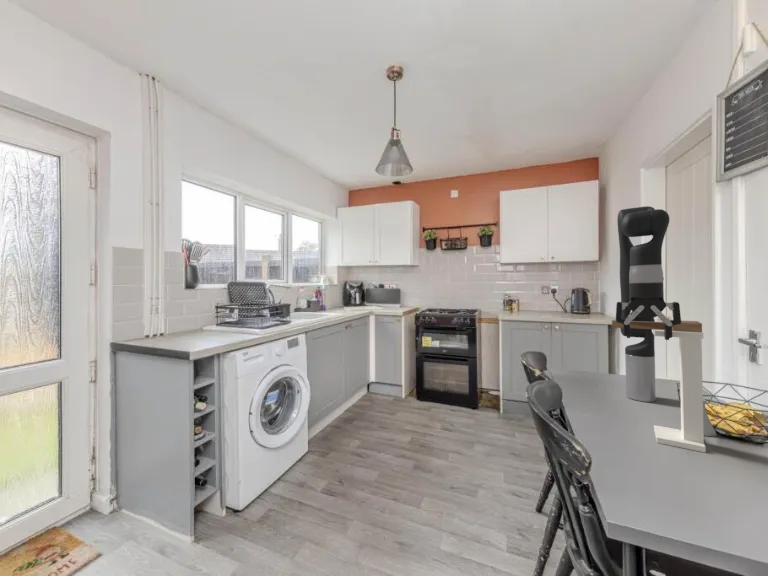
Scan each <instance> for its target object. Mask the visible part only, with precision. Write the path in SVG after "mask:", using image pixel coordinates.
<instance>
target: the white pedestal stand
mask: <svg viewBox="0 0 768 576" xmlns="http://www.w3.org/2000/svg"><path fill="white" fill-rule="evenodd" d="M652 332H653V334H654V337H664V338H665V336H664V330H658V329H652ZM672 338H678V339H679V340H678V341H679V342H678V343H679V344H678V345H679V389H680V392H679V393H680V429H678V428H672V427H666V426H663V425H662V426H661V425H655V424H653V431H654V435H655V440H656V443H657V444H662V445H666V446H672V447H676V448H681V449H686V450H691V451H696V452H701V453H704V454H705V453H706V452H707V451H706V450H707V449H706V445H705V442H704V438H705V437H704V436H705V435H704V433H703V399H704V397H703V389H704V387H703V351H702V350H703V348H702V342H703V341H702V339H704V333H703V331H702V332H682V331H672Z"/></svg>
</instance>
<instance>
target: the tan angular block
mask: <svg viewBox="0 0 768 576" xmlns="http://www.w3.org/2000/svg"><path fill="white" fill-rule="evenodd" d="M668 320H669V321H671V320H672V319H668ZM629 325H630V328H636V329H658V330H664V326H665V323H664V322H663V321H655V322H646V321H631V322H630V323H629ZM611 327H612V328H613V329H614V328H617V329H620V328H624V325H623V324H622V323H618V322H617V321H616V319H615V320H611ZM672 331H682V332H702V333H703V324H702V322H700V321H698V320H681V324H677V325H673V326H672Z"/></svg>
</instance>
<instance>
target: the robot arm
mask: <svg viewBox="0 0 768 576" xmlns="http://www.w3.org/2000/svg"><path fill="white" fill-rule="evenodd" d="M669 224H670V215H669V214H668V212H667V211H666V210H664V209H658V208H657V209H656V208H654V207H653V206H647V205H646V206H639V207H631V208H623V209H621V210H619V211H618V213H617V234H618V244H619V286H620V287H619V288H620V301H617V302H616V304H615V305H616V306H615V309H616V310H615V320H616V321H617V322H618V323H622V324H623V325H624V328H619V329H620V333H621V334H622V336H623V337H625V338H627V339H631V338H641V339H642V341H640V342H638V343H635V344H631V345H630V344H629V345H627V346H625V348H624V355H625V356H624V357H625V358H624V359H625V363H624V364H625V396H626V397H627V398H628V399H631V400H635V401H639V402H651V403H652V402H656V401H657V400H656V399H657V395H656V394H657V392H656V389H657V387H656V356H655V355H656V352H655V351H656V350H655V336H654V334H653V332H652V329H636V328H630V325H629V323H630V322H631V321H646V322H656V321H655V318H656V317H658V319H660V321H661V322H664V323H665V326H664V336H665V337H664V340H665V341H669V340H670V339H672V338H673V337H672V326H673V325H677V324H681V321H682V316H681V308H680V303H679V302H677V301H673V302H665V300H664V299H665V298H664V293H665V292H664V279H665V278H664V271H663V266H662V252H663V251H662V247H663V244H664V243H663V242H664V239H665V236H666V233H667V231H668V228H669ZM647 236H652V238H651V239H650V240H649V241H648V242H645V243H641V244H640V243H639V244H637V245H634V244H633V243H632V241H631V238H638V237H647ZM666 308H668V310H670V311H672V319H669V318H668V317H667V316H666V315H665V314H664V313H663V310H665V309H666ZM669 320H671V321H669Z"/></svg>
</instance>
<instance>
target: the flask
mask: <svg viewBox="0 0 768 576" xmlns="http://www.w3.org/2000/svg"><path fill="white" fill-rule="evenodd" d="M706 403H707V400H706V399H705V398H703V433H704V436H706V437H712V436H717V433H716V431H715V428H714V426H713V425H712V422H711V419H710V418H709V416H708V415H709V414H708V413H707V410H706Z"/></svg>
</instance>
